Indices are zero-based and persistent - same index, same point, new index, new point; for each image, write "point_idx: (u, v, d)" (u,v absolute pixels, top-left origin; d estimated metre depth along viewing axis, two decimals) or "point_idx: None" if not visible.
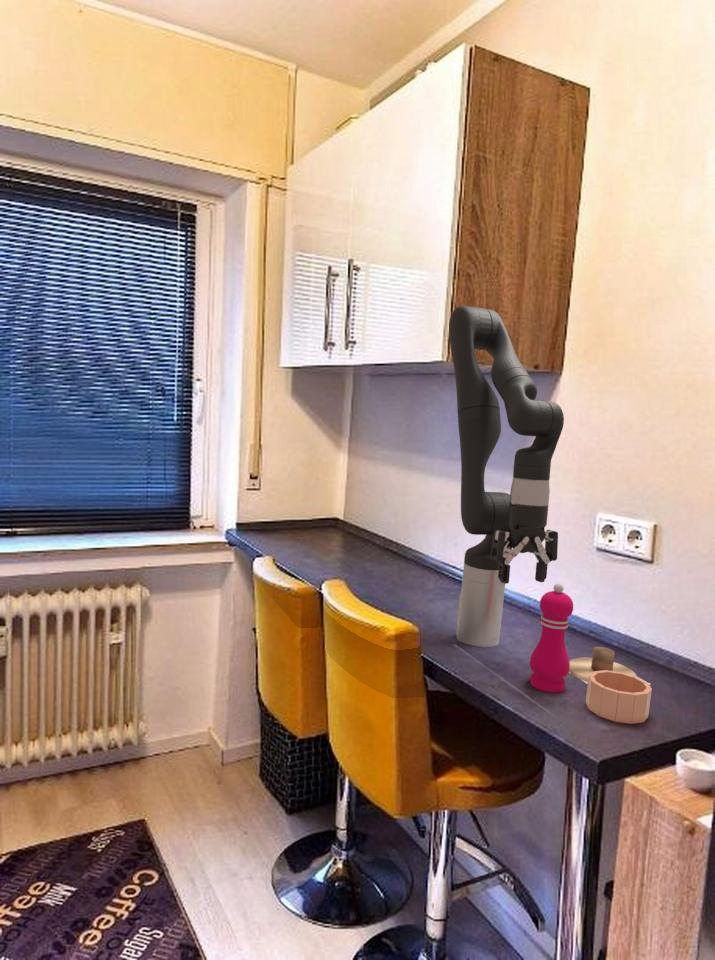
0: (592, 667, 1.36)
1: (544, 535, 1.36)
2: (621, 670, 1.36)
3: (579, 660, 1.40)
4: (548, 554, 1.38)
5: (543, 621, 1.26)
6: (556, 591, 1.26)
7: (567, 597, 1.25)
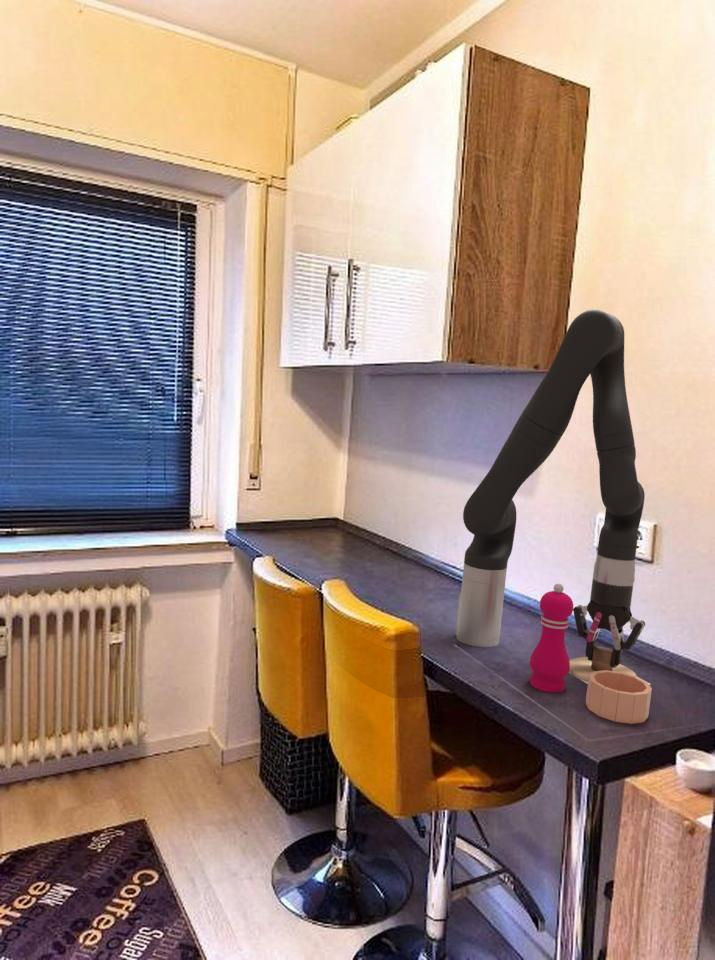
0: (592, 667, 1.36)
1: None
2: (621, 670, 1.36)
3: (579, 659, 1.40)
4: (585, 631, 1.37)
5: (543, 621, 1.26)
6: (556, 591, 1.26)
7: (567, 597, 1.25)
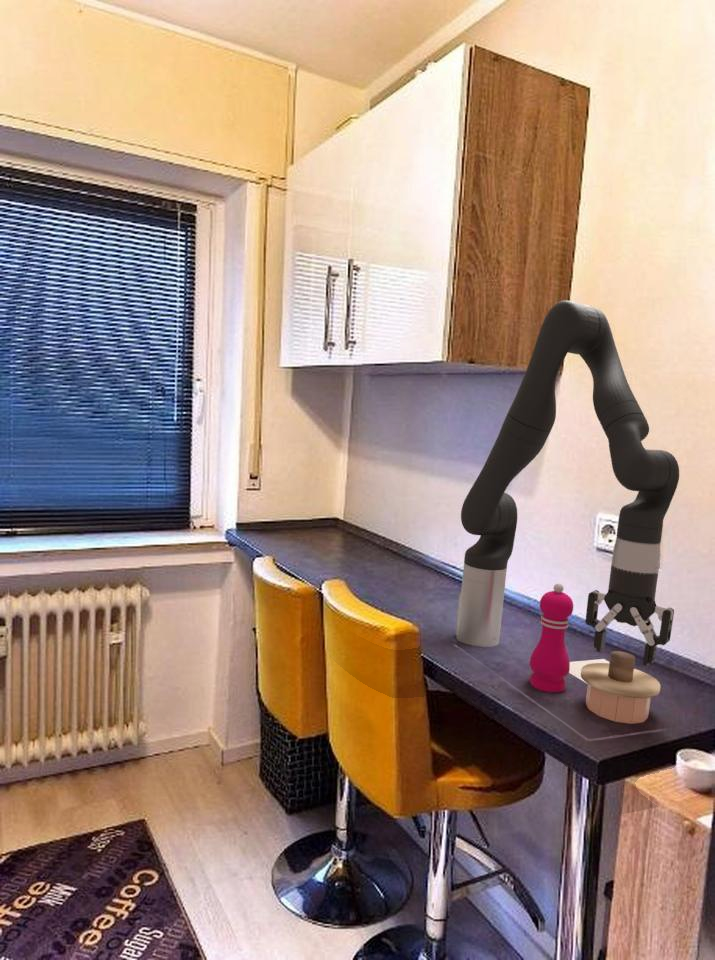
0: (609, 674, 1.19)
1: None
2: (642, 678, 1.20)
3: (593, 666, 1.24)
4: (594, 619, 1.21)
5: (543, 621, 1.26)
6: (556, 591, 1.26)
7: (567, 597, 1.25)
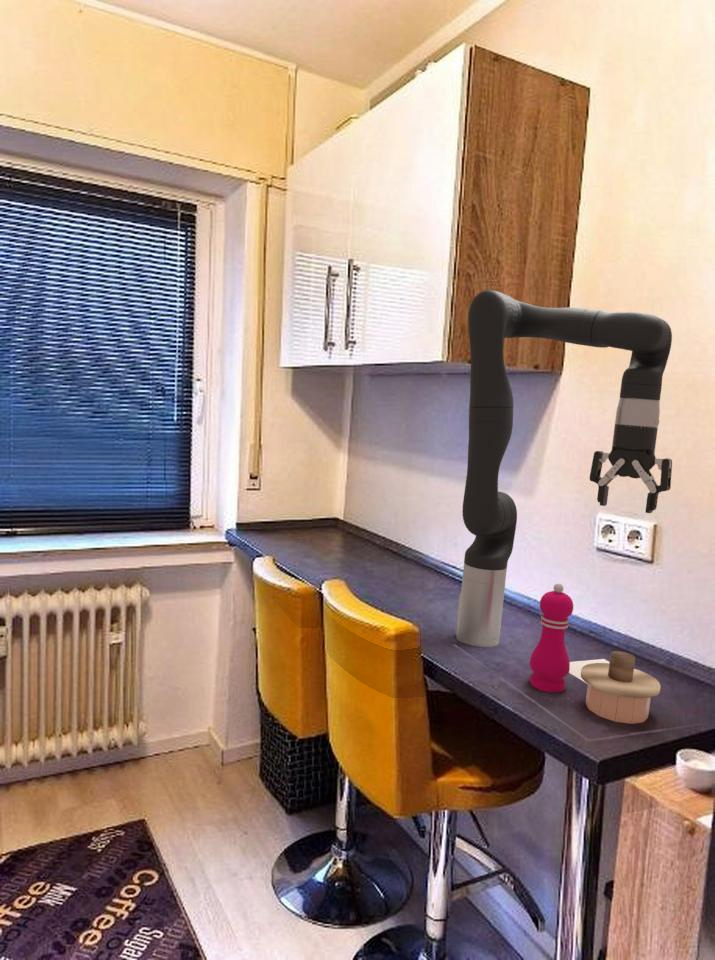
0: (609, 674, 1.19)
1: None
2: (642, 678, 1.20)
3: (593, 666, 1.24)
4: (597, 476, 1.33)
5: (543, 621, 1.26)
6: (556, 591, 1.26)
7: (567, 597, 1.25)
